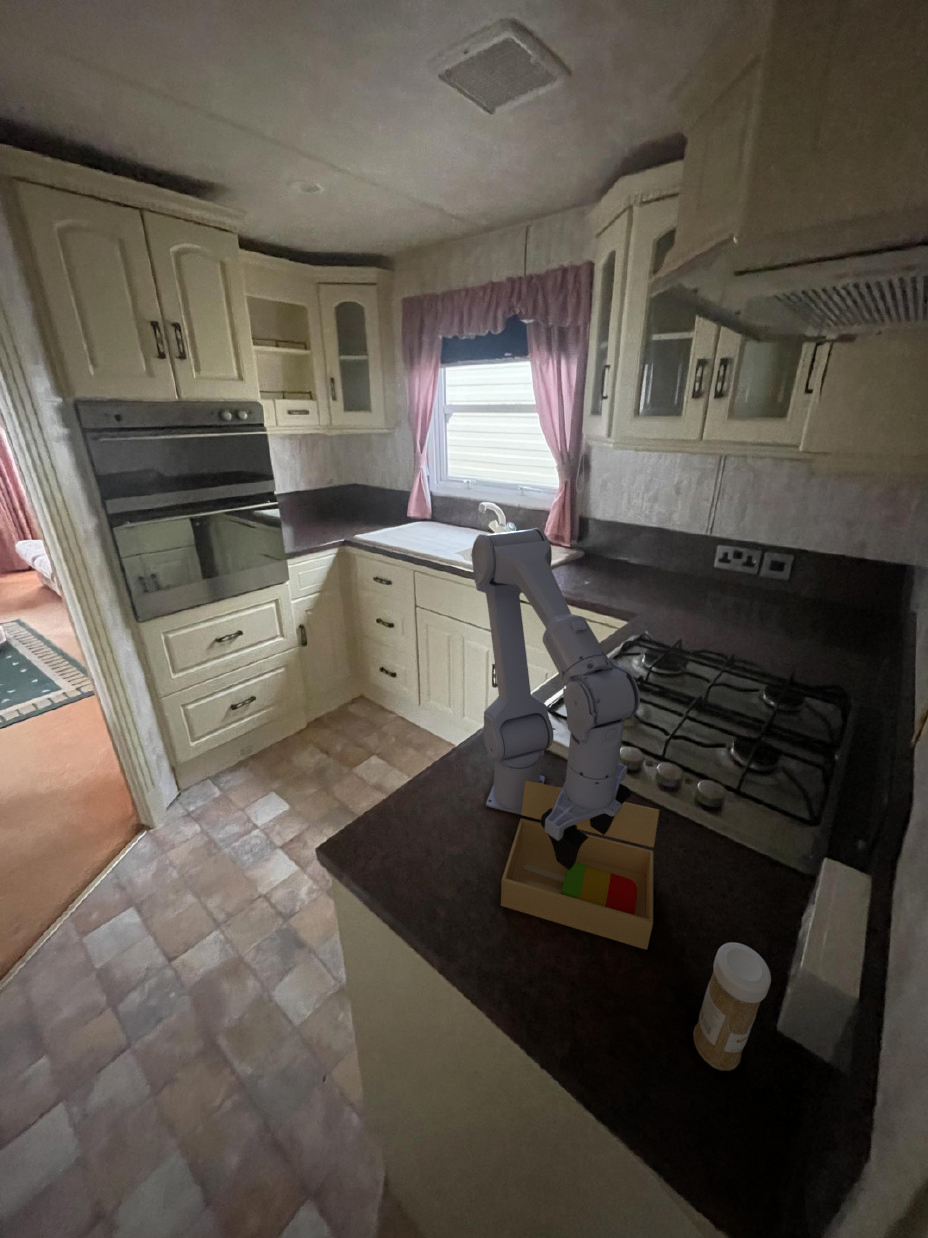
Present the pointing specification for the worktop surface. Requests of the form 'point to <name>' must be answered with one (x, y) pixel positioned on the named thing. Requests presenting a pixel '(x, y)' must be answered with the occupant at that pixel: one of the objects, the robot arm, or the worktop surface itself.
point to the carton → (550, 904)
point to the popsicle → (594, 886)
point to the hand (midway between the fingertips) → (582, 846)
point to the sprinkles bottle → (730, 1005)
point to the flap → (626, 824)
